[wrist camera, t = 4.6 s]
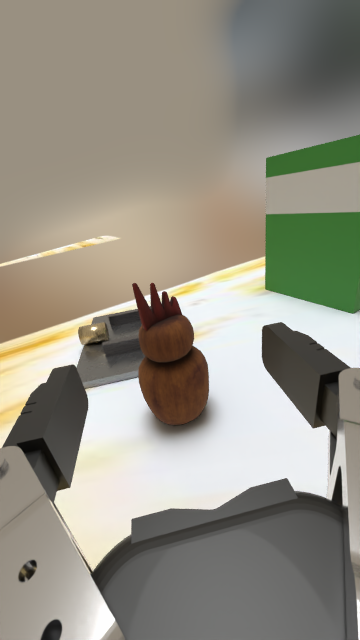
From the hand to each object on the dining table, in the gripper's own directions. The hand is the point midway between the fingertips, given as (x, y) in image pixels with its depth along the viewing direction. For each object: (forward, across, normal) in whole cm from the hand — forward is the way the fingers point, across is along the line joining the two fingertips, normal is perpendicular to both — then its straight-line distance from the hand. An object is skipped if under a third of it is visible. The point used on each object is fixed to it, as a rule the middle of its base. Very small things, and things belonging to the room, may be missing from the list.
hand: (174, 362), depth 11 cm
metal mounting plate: (+29, +5, +14) cm, 33 cm away
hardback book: (+32, -30, +14) cm, 46 cm away
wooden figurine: (+11, 0, +14) cm, 18 cm away
